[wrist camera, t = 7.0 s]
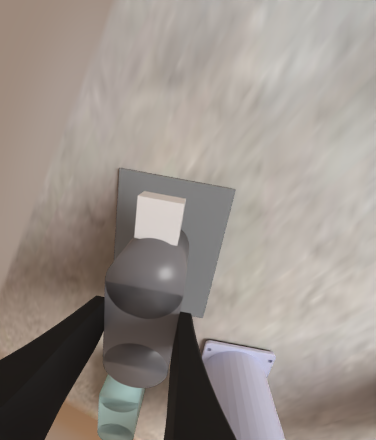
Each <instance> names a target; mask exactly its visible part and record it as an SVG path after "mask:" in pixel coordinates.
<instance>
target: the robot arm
mask: <svg viewBox="0 0 376 440" xmlns="http://www.w3.org/2000/svg"><path fill="white" fill-rule="evenodd" d="M104 299H105V297H101V296H95V297H94V298H93V299H91V300H90V301H89V302H87V303H86V304H85V305H83V306H82V307H81V308H79V309H78V310H77V311H75V312H74V313H73V314H71V315H70V316H68V317H67V318H66V319H64V320H63V321H61V322H60V323H59V324H57V325H56V326H54V327H53V328H51V329H50V330H48V331H47V332H45V333H44V334H42V335H41V336H39V337H38V338H36V339H35V340H33V341H32V342H30V343H28V344H27V345H25V346H23V347H22V348H20V349H18V350H17V351H15V352H13V353H12V354H10V355H8V356H6V357H5V358H3V359H1V360H0V440H45V438H46V435H47V433H48V432H49V430H50V428H51V426H52V424H53V422H54V420H55V418H56V415H57V413H58V412H59V410H60V408H61V406H62V404H63V402H64V400H65V399H66V397H67V395H68V393H69V392H70V390H71V388H72V387H73V385H74V383H75V382H76V380H77V378H78V377H79V375H80V373H81V371H82V370H83V368H84V366H85V365H86V363H87V361H88V360H89V358H90V356H91V355H92V353H93V351H94V350H95V348H96V346H97V344H98V342H99V340H100V338H101V336H102V333H103V331H104V310H105V300H104ZM275 359H276V356H275V354H274V353H273V352H270V351H265V350H260V349H254V348H249V347H244V346H238V345H233V344H228V343H222V342H217V341H212V340H208V341H206V343H205V346H204V350H203V353H202V357H201V353H200V350H199V346H198V343H197V339H196V335H195V331H194V326H193V320H192V315H191V313H186V312H181V311H180V314H179V318H178V323H177V328H176V333H175V338H174V342H173V349H172V355H171V364H170V378H169V392H168V406H167V418H166V428H165V435H164V440H285V437H284V433H283V430H282V427H281V424H280V420H279V417H278V414H277V411H276V407H275V404H274V401H273V398H272V394H271V391H270V388H269V385H268V381H267V377H268V374H269V372H270V370H271V368H272V365H273V363H274V361H275Z"/></svg>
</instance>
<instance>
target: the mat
mask: <svg viewBox="0 0 376 440" xmlns="http://www.w3.org/2000/svg"><path fill="white" fill-rule="evenodd" d="M144 191H147V192H152V193H158V194H163V195H168V196H174V197H179V198H185V199H186V202H185V208H184V214H183V220H182V225H181V229H182V230H183V231H184V233H185V234H186V236H187V238H188V241H189V255H188V263H187V271H186V279H185V287H184V296H183V300H182V305H181V310H180V311H181V312H186V313H191V315H192V316H193V317H199V318H203V316H204V312H205V308H206V304H207V300H208V296H209V292H210V288H211V284H212V280H213V276H214V273H215V269H216V265H217V261H218V257H219V253H220V249H221V245H222V241H223V237H224V233H225V229H226V225H227V222H228V218H229V214H230V210H231V206H232V202H233V198H234V194H235V189H231V188H226V187H221V186H215V185H210V184H205V183H199V182H194V181H188V180H183V179H178V178H172V177H167V176H162V175H156V174H151V173H145V172H140V171H135V170H129V169H124V168H119V185H118V201H117V217H116V233H115V250H114V261H115V259H116V258H117V257H118V256H119V254H120V253H121V252H122V251H123V249H124V248H125V247H126V246H127V244H128V243H129V242H130V241H131V239H132V238H133V237H134V235H135V223H136V211H137V199H138V195H139V194H141V193H142V192H144Z"/></svg>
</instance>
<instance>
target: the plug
mask: <svg viewBox="0 0 376 440" xmlns="http://www.w3.org/2000/svg"><path fill="white" fill-rule="evenodd" d="M185 202H186V199H185V198H179V197H174V196H168V195H163V194H158V193H152V192H147V191H144V192H142V193H141V194H139V195H138V199H137V211H136V223H135V235H134V237H133V238H132V239H131V241H130V242H129V243H128V244H127V246H126V247H125V248H124V249H123V251H122V252H121V253H120V254H119V256H118V257H117V258H116V259H115V261H114V262H113V263H112V264H111V266H110V267H109V269H108V271H107V273H106V276H105V299H104V300H105V310H104V339H103V365H104V368H105V370H106V372H107V373H108V374H109V375H110V376H111V377H112V378H113V379H114V380H116V381H117V382H119V383H121V384H123V385H126V386H129V387H134V388H149V387H153V386H156V385H158V384H160V383H161V382H162V381H163V380H164V379H165V378H166V376H167V373H168V368H169V363H170V358H171V353H172V349H173V342H174V338H175V333H176V328H177V323H178V318H179V314H180V310H181V305H182V300H183V296H184V287H185V279H186V271H187V263H188V255H189V241H188V238H187V236H186V234H185V233H184V231H183V230H182V229H181V225H182V220H183V214H184V208H185Z"/></svg>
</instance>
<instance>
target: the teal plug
mask: <svg viewBox="0 0 376 440" xmlns="http://www.w3.org/2000/svg"><path fill="white" fill-rule="evenodd" d="M144 392H145V388H134V387H129V386H126V385H123V384H121V383H119V382H117V381H116V380H114V379H113V378H112V377H111V376H110V375H109V374H108V375H107V378H106V380H105V382H104V385H103V387H102V389H101V392H100V394H99V411H98V435H99V437H100V438H101V439H102V440H133V438H134V434H135V429H136V425H137V421H138V417H139V413H140V408H141V404H142V400H143V396H144Z"/></svg>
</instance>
